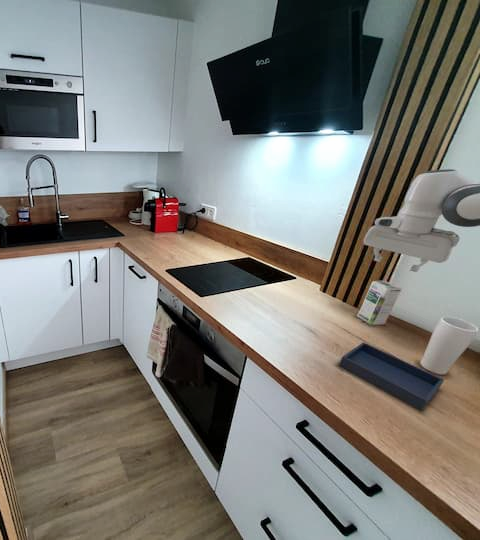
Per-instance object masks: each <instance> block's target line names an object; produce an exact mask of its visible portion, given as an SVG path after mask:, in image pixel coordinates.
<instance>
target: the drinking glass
mask: <svg viewBox="0 0 480 540" xmlns="http://www.w3.org/2000/svg"><path fill="white" fill-rule="evenodd" d="M478 332H479V328H478V327H477V326H476V325H474V324H473V323H471V322H470V321H469V322H468V321H466V320H463V319H460V318H457V317H453V316H442V317H440V319H439V320H438V321H437V324H436V326H435V327H434V329H433V331H432V333H431V336H430V337H429V341H428V344H427V346H426V348H425V351H424V353H423V355H422V358H421V359H420V366H421V367H422V368H423V369H425V370H426V371H427V372H429V373H432V374H437V375H446V374H448V372H449V371H450V369H451V368H452V366H453V365H454V364H455V363H456V362H457V361H458V360H459V358H460V357H461V355H463V354H464V352H465V351H466V349H467V348H468V347H469V346H470V345H471V343H472V342H473V340H474V339H475V337H476V336H477V334H478Z"/></svg>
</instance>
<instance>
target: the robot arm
mask: <svg viewBox="0 0 480 540" xmlns="http://www.w3.org/2000/svg"><path fill="white" fill-rule="evenodd" d="M441 216H442V217H443V218H444V219H445V220H446V222H448V223H450V224H452V225H454V226H457V227H462V228H476V227H480V182H478V181H474V180H472V179H470V178H468V177H467V176H465V175H463V174H462V173H460V172H459V171H458V170H456V169H454V168H453V169H451V168H448V169H433V170H432V169H431V170H427V171H424V172H421V173H420V174H418V175H417V176H415V178H414V180H413V181H412V183H411V184H410V187H409V189H408V190H407V192H406V195H405V198H404V204H403V206H402V207H401V209H400V210H399V211H398V213H397V215H396V216H395V215H391V216H383V217H379V218H376V219H375V220H374V225H372V226H371V227H370V228H369V229H368V231H367V232H366V233H365V236H364V238H363V240H362V242H363V244H364V245H365V246H368V247H373V254H374V258H373V261H375V262H378V263H380V262H381V261H382V259H383V258H384V256H382V255H381V254H380V251H382V250H385V251H388V252H392V253H397V254H402V255H404V256H405V255H406V256H410V257H412V258H413V257H414V258H417V259H420V260H419V262H420V263H419V264H413V265H411V268H410V271H411V272H414V273H417V272H418V271H419V270H420V268H421V267H422V266H424V265H425V264H427V263H429V262H433V263H438V264H441V263H444V262H446V261H448V259H449V257H450V255H451V253H452V250H453V248H454V247H456V246H457V245H458V243H459V241H460V236H459V234H457V233H455V231H451V230H444V229H441V228H436V227H435V226H436V224H437V222H438V221H439V218H440V217H441Z"/></svg>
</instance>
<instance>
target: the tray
mask: <svg viewBox="0 0 480 540" xmlns="http://www.w3.org/2000/svg"><path fill="white" fill-rule="evenodd" d="M338 366H339V367H341V368H343V369H344V370H346V371H348V372H350V373H352V374H353V375H355V376H357V377H358V378H361V379H363V380H364V381H366V382H368V383H369V384H371V385H373V386H374V387H377V388H379V389H381V390H382V391H385V392H386V393H388V394H390V395H392V396H394V397H395V398H397V399H398V400H401V401H403V402H404V403H406V404H408V405H410V406H412V407H413V408H415V409H416V410H419V411H421V412H422V411H423V410H424V408H425V407H426V406H427V404H428V403H429V402H430V401H431V399H432V398H433V397H434V396H435V394H436V393H437V392H438V391H439V389H440V387H441V386H442V385H443V383H444V381H445V379H444V378H443V377H440V376H437V375H435V374H434V373H432V372H430V371H428V370H426V369H425V370H424V369H423V368H420V367H418V366H416V365H413V364H411V363H410V362H408V361H406V360H403V359H401V358H399V357H396V356H395V355H392V354H390V353H388V352H386V351H384V350H382V349H379V348H377V347H375V346H373V345H371V344H369V343H367V342H364V341H363V342H361V343H359V345H357V346H355V347H354V348H353V349H352V350H350V351H348V352H347V353H345V354H344V355H343V356H342V357H341V359H340V362H339V364H338Z"/></svg>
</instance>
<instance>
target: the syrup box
mask: <svg viewBox="0 0 480 540" xmlns="http://www.w3.org/2000/svg"><path fill="white" fill-rule="evenodd" d="M402 290H403V288H402V287H401V286H398V285H395V284H393V283H391V282H388V281H386V280H373V281H372V282H371V284H370V286H369V288H368V290H367V293H366V294H365V298H364V300H363V302H362V305H361V307H360V309H359V311H358V313H357V316H356V317H357V318H359V319H361V320H362V321H364V322H366V323H367V324H369V325H370V326H377V325H379V326H380V325H385V324H386V323H387V320H388V318H389V316H390V314H391V312H392V310H393V308H394V306H395V305H396V302H397V300H398V298H399V296H400V294H401V292H402Z"/></svg>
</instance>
